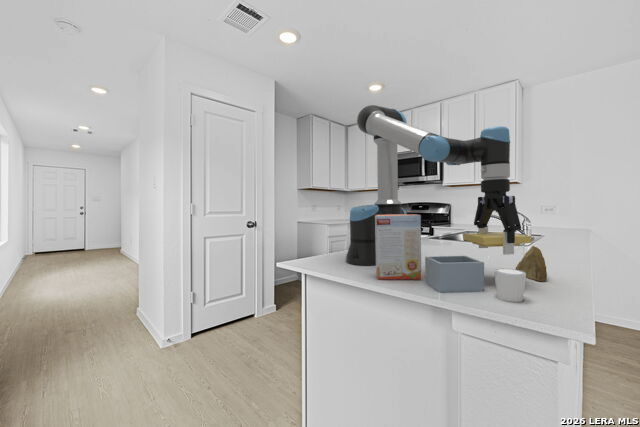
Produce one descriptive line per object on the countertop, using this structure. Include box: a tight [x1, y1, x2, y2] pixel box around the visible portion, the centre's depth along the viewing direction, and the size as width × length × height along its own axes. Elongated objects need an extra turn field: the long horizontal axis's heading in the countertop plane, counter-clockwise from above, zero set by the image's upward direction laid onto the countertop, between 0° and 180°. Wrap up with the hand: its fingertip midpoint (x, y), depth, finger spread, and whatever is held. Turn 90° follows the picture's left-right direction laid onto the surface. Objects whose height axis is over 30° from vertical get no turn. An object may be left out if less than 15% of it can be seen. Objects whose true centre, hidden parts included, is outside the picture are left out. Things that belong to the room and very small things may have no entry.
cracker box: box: [375, 213, 422, 281], centre depth 94 cm, size 14×6×21 cm, turn 84°
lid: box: [462, 231, 532, 248], centre depth 88 cm, size 11×14×3 cm
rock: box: [514, 245, 548, 282], centre depth 92 cm, size 11×9×10 cm
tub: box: [424, 255, 485, 293], centre depth 84 cm, size 10×13×8 cm
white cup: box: [493, 268, 526, 303], centre depth 74 cm, size 7×7×7 cm
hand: (495, 250), depth 88 cm, fingers closed on lid, 11 cm apart
